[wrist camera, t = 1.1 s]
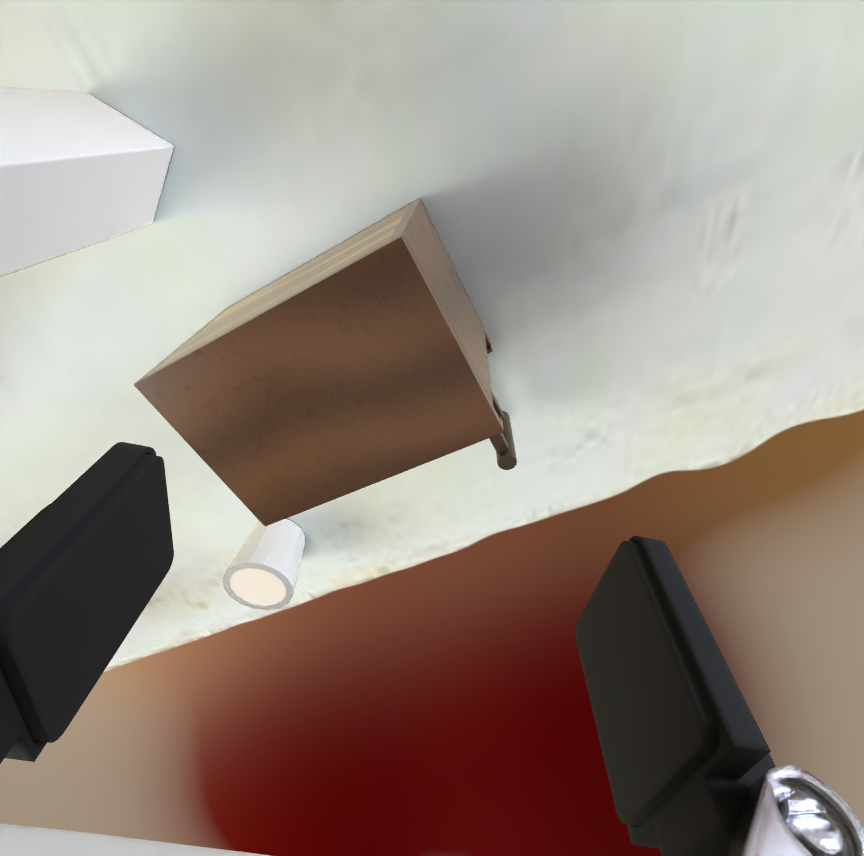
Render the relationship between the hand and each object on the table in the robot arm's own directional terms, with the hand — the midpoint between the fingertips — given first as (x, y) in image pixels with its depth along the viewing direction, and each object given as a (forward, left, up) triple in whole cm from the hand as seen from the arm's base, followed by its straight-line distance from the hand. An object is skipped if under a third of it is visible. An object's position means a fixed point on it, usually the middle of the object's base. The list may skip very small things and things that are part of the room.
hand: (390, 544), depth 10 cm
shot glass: (+35, +8, -31) cm, 47 cm away
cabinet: (+9, -1, -31) cm, 32 cm away
